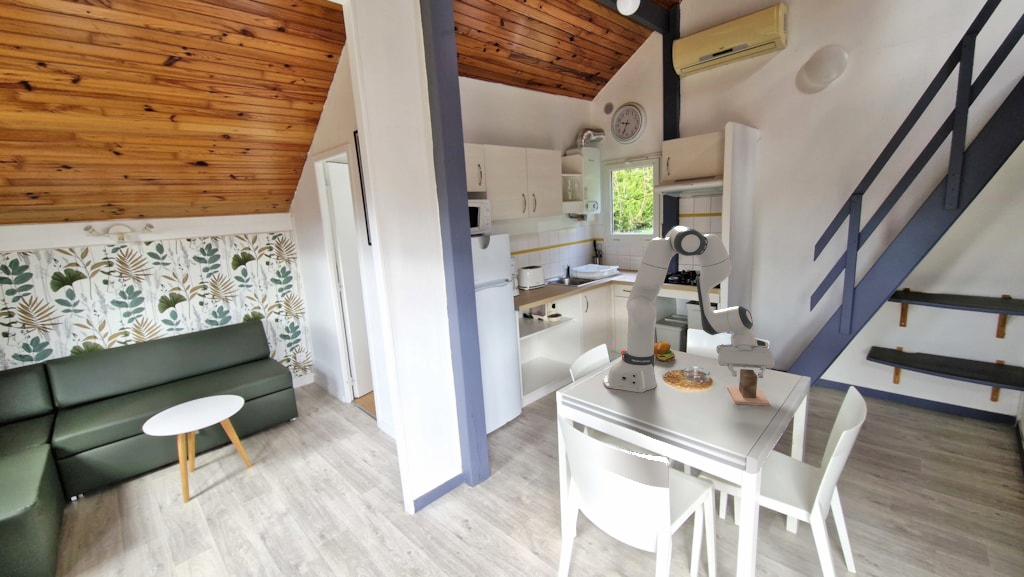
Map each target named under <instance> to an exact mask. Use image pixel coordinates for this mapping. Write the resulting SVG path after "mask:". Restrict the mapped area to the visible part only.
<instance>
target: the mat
mask: <svg viewBox="0 0 1024 577" xmlns="http://www.w3.org/2000/svg"><path fill="white" fill-rule="evenodd" d="M726 389H727V391H728V393H729V395H730V396H731V399H732V400H733V402H734V404H737V405H749V406H751V405H752V406H765V407H770V406H771V403H770V402H769V400H768V399H767V397H766V395H765V394H764V393H763V391H762V390H761V388H760V387H757V390H756V398H743V397H742V395H741V393H740V391H739V386H737V385H735V386H734V385H727V386H726Z"/></svg>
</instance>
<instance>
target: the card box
mask: <svg viewBox="0 0 1024 577" xmlns="http://www.w3.org/2000/svg"><path fill="white" fill-rule="evenodd" d="M757 386H758V374H756V372H755V371H754V370H753V369H748V368H747V369H743V368H740V371H739V386H738V387H739V391H740V393H741V395H742V397H743V398H756V390H757V388H758V387H757Z"/></svg>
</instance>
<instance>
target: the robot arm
mask: <svg viewBox="0 0 1024 577" xmlns="http://www.w3.org/2000/svg"><path fill="white" fill-rule="evenodd" d="M676 254H680V255H682V256H685V257H690V256H691V257H692V256H696V258H697V260H698V263H699V266H700V275H699V276H698V277H697V278H696V279H697V280H696V290H697V292H696V293H697V298H698V304H699V310H700V317H701V318H700V322H701V324H700V325H701V328H702V329H703V332H704V333H707V334H709V335H710V336H715V335H720V334H723V333H730V344H729V343H728V344H727V343H726V344H723V343H720V344H718V345H717V346H716V352H717V364H718V365H719V366H720V367H727V369H728V370H729V372H731V376H732V377H738V372H737V370H734V367H735V368H754V369H755V368H756V369H759V371H760V372H758V373H757V379H763V378H764V372H765V371H766V369H772V368H773V367H774V366H775V358H774V355H773V352H772V350H771V349H770V348H769V342H767V341H764V340H761V339H758V338H755V336H754V333H753V331H754V327H753V326H754V322H753V316H752V314H751V312H750V311H749V310H748V309H747V308H746V307H744V306H742V305H737V306H736V305H735V306H730V307H726V308H721V309H716V310H715V309H714V310H713V309H712V305H711V299H710V298H711V296H710V292H711V290H713V288H715V287H717V286H718V285H719V284H721V283H723V282H725V280H727V278H728V277H729V276H730V275H731V272H732V269H733V268H732V262H731V258H730V255H729V253H728V251H727V248H726V246H725V245H724V243H723V241H722V239H721V238H720V236H719V235H718V234H715V233H708V234H702V233H701V232H699V231H698V230H696V229H694V228H693V227H691V226H688V225H684V224H683V225H682V224H679V225H675V226H674V225H673V227H671V228H670V229H669V230H668V231H667V232H666V233H665V234H664V235H663V236H662V237H655V238H651V239H650V241H649V242H648V244H646V247H645V249H644V252H643V254H642V257H641V259H640V264H639V266H638V269H637V273H636V277H635V279H634V283H633V285H632V287H631V289H630V293H629V296H628V299H627V301H626V306H625V307H626V309H627V317H628V318H627V333H626V338H627V339H626V350H625V349H624V348H623V349H621V351H620V353H621V359H620V360H618V361H617V362H615V363H613V364H612V365H611V367H610V368H609V371H608V373H607V374H606V375H604V377H603V385H604V386H605V387H606V388H609V389H615V390H622V391H628V392H635V393H644V392H646V391H651V390H653V389H654V388H656V387H657V386H658V383H657V379H656V374H655V365H656V358H655V353H654V344H655V334H656V332H655V331H656V326H657V325H656V324H657V314H658V313H657V307H656V306H655V303H656V300H657V297H658V296H659V293H660V291H661V290H662V288H663V286H664V283H665V280H666V277H667V273H668V271H669V267H670V262H671V260H672V258H673V257H674V256H675V255H676Z"/></svg>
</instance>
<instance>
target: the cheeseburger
mask: <svg viewBox="0 0 1024 577" xmlns="http://www.w3.org/2000/svg"><path fill="white" fill-rule="evenodd" d="M671 347H672V346H671V344H670V343H669V342H668V341H665V340H663V341H659V342H655V343H654V353H655V360H656V361H657V360H658V361H660V362H665V363H666V362H670V361H673V360H675V358H676V353H675V352H674V350H673V349H671Z"/></svg>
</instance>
